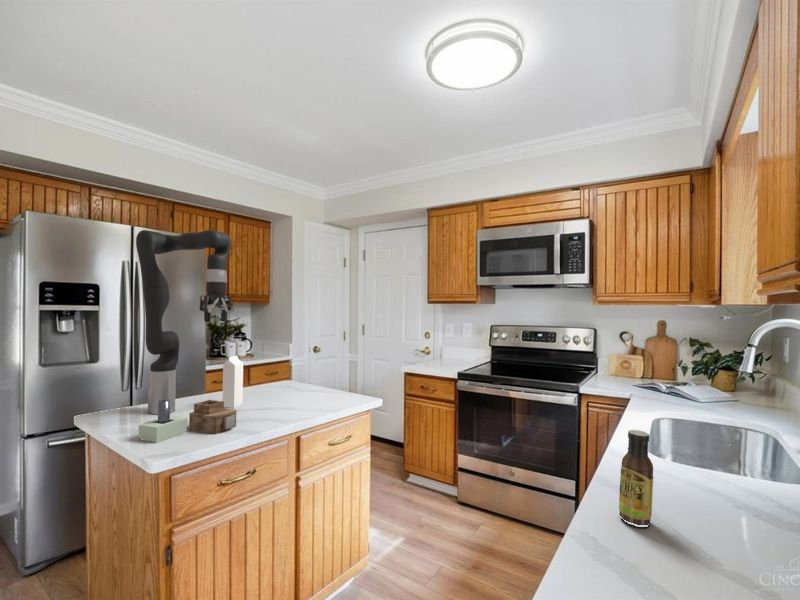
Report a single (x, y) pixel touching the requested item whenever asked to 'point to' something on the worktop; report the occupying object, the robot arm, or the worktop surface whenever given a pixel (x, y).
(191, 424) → the socket block
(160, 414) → the grey peg
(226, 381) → the milk
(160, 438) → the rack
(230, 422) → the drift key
